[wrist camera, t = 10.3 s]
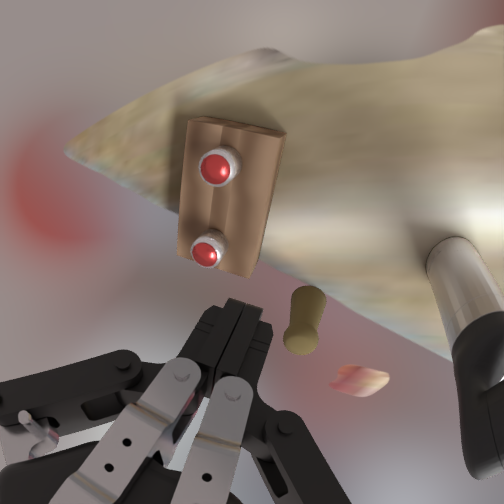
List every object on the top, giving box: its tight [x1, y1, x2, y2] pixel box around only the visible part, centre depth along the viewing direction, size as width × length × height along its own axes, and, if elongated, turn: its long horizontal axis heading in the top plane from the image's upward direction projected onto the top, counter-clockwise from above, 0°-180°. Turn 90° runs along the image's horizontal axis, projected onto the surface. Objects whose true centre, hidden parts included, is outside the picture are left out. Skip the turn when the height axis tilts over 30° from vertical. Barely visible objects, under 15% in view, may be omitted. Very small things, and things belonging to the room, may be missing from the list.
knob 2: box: [190, 229, 229, 268], centre depth 43 cm, size 4×4×7 cm
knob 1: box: [199, 146, 242, 187], centre depth 36 cm, size 4×4×7 cm
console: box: [177, 116, 287, 279], centre depth 42 cm, size 12×21×5 cm, turn 170°
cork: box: [283, 286, 326, 355], centre depth 45 cm, size 6×6×11 cm
